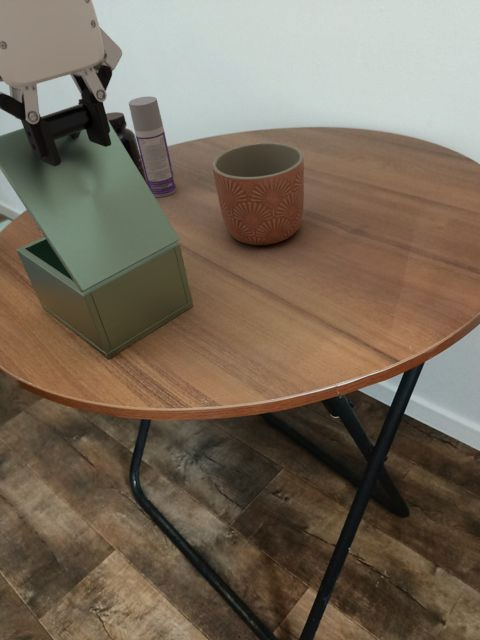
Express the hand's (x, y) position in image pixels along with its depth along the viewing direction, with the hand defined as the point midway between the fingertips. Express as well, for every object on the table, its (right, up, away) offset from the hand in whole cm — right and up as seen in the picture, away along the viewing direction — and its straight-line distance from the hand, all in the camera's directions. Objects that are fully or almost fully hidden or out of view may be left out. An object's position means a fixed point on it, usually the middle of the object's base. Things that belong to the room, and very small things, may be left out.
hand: (75, 150), depth 51 cm
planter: (+19, -2, +26) cm, 32 cm away
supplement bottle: (-6, +11, +44) cm, 46 cm away
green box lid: (0, -3, +4) cm, 5 cm away
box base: (0, -14, +15) cm, 21 cm away
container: (+1, +8, +41) cm, 42 cm away
